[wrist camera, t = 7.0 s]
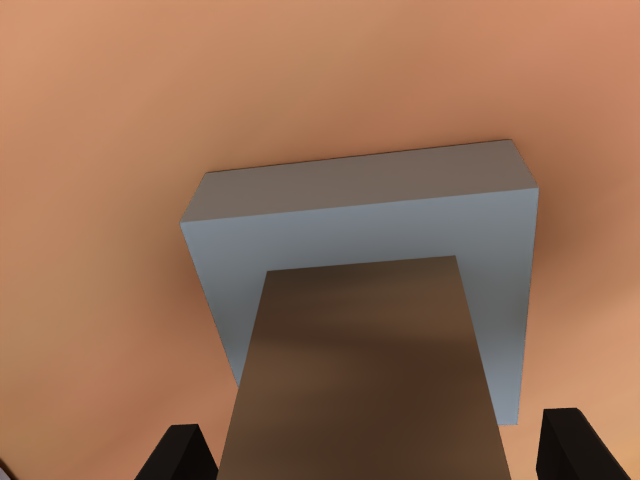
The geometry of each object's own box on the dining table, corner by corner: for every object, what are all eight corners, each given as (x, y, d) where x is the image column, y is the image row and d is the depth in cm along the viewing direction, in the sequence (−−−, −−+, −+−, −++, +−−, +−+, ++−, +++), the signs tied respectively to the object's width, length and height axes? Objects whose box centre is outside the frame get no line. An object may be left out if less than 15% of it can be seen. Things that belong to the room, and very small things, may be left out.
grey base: (266, 373, 19) (254, 434, 17) (205, 172, 14) (179, 222, 12) (499, 360, 17) (517, 424, 15) (511, 139, 13) (539, 187, 11)
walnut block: (299, 392, 15) (269, 637, 10) (267, 270, 13) (207, 516, 8) (456, 384, 15) (505, 641, 10) (455, 255, 12) (519, 512, 7)
